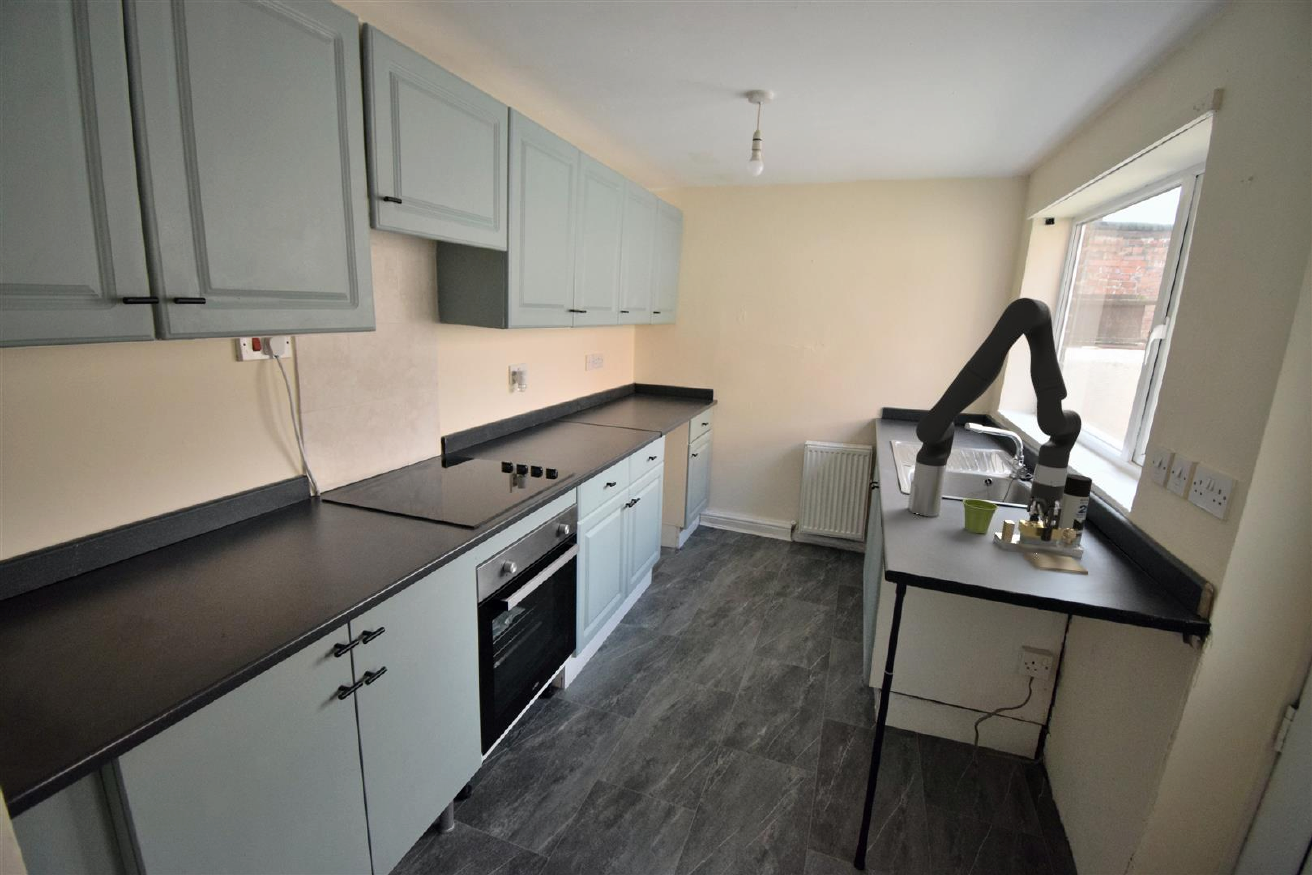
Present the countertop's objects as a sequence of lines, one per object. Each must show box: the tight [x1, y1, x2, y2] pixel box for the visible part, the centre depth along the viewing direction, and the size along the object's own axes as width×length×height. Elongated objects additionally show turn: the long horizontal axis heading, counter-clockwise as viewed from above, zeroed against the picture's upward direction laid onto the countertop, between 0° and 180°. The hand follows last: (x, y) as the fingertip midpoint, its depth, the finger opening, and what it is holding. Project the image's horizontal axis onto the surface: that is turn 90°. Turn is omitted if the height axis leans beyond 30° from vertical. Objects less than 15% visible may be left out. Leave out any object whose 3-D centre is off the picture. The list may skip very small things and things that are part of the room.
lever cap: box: [1017, 519, 1063, 540], centre depth 159 cm, size 9×5×4 cm, turn 78°
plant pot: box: [962, 498, 999, 535], centre depth 173 cm, size 9×9×9 cm
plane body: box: [992, 519, 1084, 559], centre depth 160 cm, size 20×7×8 cm, turn 78°
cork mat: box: [1022, 552, 1089, 575], centre depth 151 cm, size 12×9×1 cm
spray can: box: [1058, 473, 1093, 546], centre depth 165 cm, size 7×7×20 cm
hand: (1038, 535), depth 160 cm, fingers open, 8 cm apart
